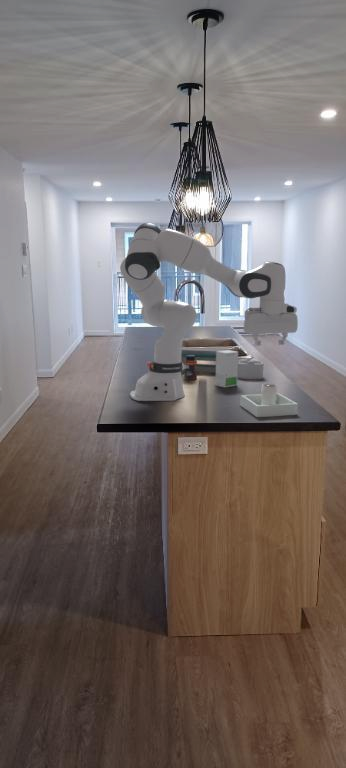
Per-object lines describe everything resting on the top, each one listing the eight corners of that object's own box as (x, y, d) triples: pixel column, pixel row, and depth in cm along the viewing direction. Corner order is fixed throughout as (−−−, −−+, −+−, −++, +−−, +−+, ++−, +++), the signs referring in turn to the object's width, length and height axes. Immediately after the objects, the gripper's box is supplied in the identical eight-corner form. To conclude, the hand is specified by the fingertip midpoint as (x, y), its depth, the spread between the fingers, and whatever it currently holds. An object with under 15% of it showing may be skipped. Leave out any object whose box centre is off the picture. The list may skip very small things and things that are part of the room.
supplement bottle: (196, 377, 254) (196, 354, 251) (197, 380, 248) (197, 356, 245) (183, 377, 253) (184, 354, 251) (184, 380, 248) (184, 356, 245)
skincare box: (224, 388, 233) (225, 353, 230) (214, 385, 238) (215, 351, 235) (237, 385, 239) (239, 351, 235) (227, 382, 244) (228, 349, 240)
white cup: (264, 410, 197) (265, 387, 195) (258, 406, 202) (259, 383, 200) (278, 409, 198) (279, 386, 196) (271, 406, 203) (272, 382, 201)
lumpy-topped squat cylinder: (263, 379, 252) (264, 361, 250) (236, 379, 252) (237, 361, 250) (259, 374, 262) (260, 357, 260) (233, 374, 262) (234, 357, 260)
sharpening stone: (178, 371, 268) (178, 349, 265) (180, 368, 275) (181, 347, 273) (227, 373, 264) (228, 351, 261) (229, 370, 271) (229, 349, 269)
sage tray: (256, 417, 191) (257, 406, 190) (240, 405, 206) (240, 395, 205) (297, 414, 195) (297, 403, 194) (278, 403, 210) (278, 393, 209)
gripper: (248, 308, 188) (246, 347, 191) (300, 308, 193) (298, 345, 196) (241, 306, 194) (240, 344, 197) (292, 306, 199) (290, 343, 202)
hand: (269, 345), depth 196 cm, fingers open, 8 cm apart
